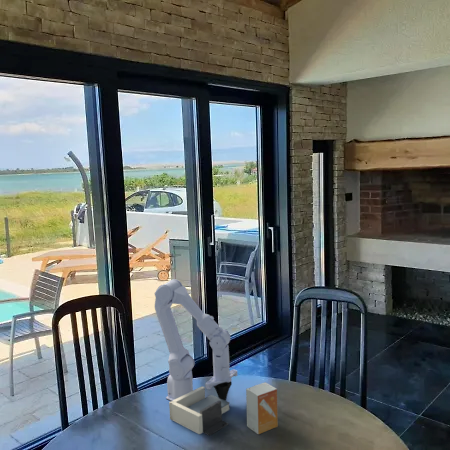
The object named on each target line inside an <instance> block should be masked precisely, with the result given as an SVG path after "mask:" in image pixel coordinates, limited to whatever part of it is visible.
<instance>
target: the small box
mask: <svg viewBox="0 0 450 450" xmlns="http://www.w3.org/2000/svg"><path fill="white" fill-rule="evenodd" d="M245 397H246V398H245V399H246V400H245V401H246V403H245V404H246V426H247V428H248V429H250V430H252V431H253V432H254V433H256V434H257V435H260V434H263V433H265V432H268V431H271V430H273V429H276V428H278V426H279V423H278V422H279V421H278V389H277V387H275V386H273V385H271V384H269V383H268V382H266V381H265V382H262V383H259V384H256V385H253V386H251V387H247V388H246V389H245Z"/></svg>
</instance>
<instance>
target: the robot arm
mask: <svg viewBox="0 0 450 450" xmlns="http://www.w3.org/2000/svg"><path fill="white" fill-rule="evenodd" d="M154 296H155V299H154V310H155V314H156V316H157V319H158V322H159V325H160V328H161V331H162V334H163V337H164V341H165V343H166V346H167V349H168V352H169V356H168V360H167V362H168V367H169V368H168V373H169V375H168V377H167V381H166V384H167V385H166V388H167V396H166V397H165V399H167V400H169V401H170V402H171V401H173V400H175V399H177V398H179V397H181V396H183V395H185V394H187V393H189V392H191V391H193V390H194V386H193V371H192V370H193V368H194V366H195V359H194V357H193V356H192V355H191V354H190V351H189V349H187V348H186V347H185V346H184V343H183V341H182V338H181V335H180V332H179V329H178V325H177V323H176V321H175V316H174V314H173V311H172V309H171V307H172V306H173V304H174V305H181V306H182V307H183V308H184V309H185V310H186V311H187V312H188V313H189V314H190V315H191V316H192V318H194V319H195V320H196V326H197V328H198V329H199V330H200V331H201V332H202V334H203V335H205V337H206V338H207V339H208V340H209V346H210V347H211V349H212V366H213V368H212V369H213V370H212V371H213V376H212V377H211V378H210V379H209V380H208V381H206V382H205V384H204V387H205V390H208V391H210V390H212V388H214V390H215V391H216V394H217V397H218V398H220V399H222V400H225V401H227V397H228V394H229V391H230V389H231V386H232V384H233V383H232V382H233V381H232V378H234V377H237V376H238V370H237V369H234V368H233V369H230V351H229V350H230V349H229V348H230V347H229V343H230V342H231V334H230V333H229V331H228V329H225V328H223V327H221V326H220V325H218V323H217V322H216V321H215V320H214V319H215V318H214V316H213V315H210V314H207V313H204V312H203V311H202V310H201V308H200V307H199V306H198V304H197V303H196V302H195V300H194V299H193V297H192V296H191V295H190V294H189V293H188V290H187V288H186V286H185V285H183V284H182V282H181V281H180V280H179V279H175V278H173V279H170V280H169V281H168V282H166V283H163V284H161V285H159V286H158V288H157V289H156V290H155V292H154Z"/></svg>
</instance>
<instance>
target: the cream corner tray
mask: <svg viewBox="0 0 450 450" xmlns="http://www.w3.org/2000/svg"><path fill="white" fill-rule="evenodd" d="M204 398H206V387H205V386H202V385H201V386H200V387H197V388H196V389H193V391H191V392H189V393H187V394H185V395H183V396H181V397H179V398H177V399H175V400H173V401H171V400H170V401H169V402H168V403H169V404H168V406H169V420H171V421H173V422H174V423H177V424H179V425H180V426H183V427H184V428H186V429H188V430H190V431H192V432H194V433H196V434H197V435H201V434H204V433H203V424H202V414H200V413H197V412H195V411H193V410H191V409H189V408H187V407H189V406H191V405H193V404H195V403H197V402H199V401H200V400H202V399H204Z"/></svg>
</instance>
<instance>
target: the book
mask: <svg viewBox="0 0 450 450" xmlns="http://www.w3.org/2000/svg"><path fill="white" fill-rule="evenodd" d="M217 401H221V411H222V415H223V414H225V413H227V412H228V411H230V410H231V409H230V401H227V400H226V401H225V400H222V399H220V398H219V397H218V396H215V395H213V394H210V395H208V396H205V398H204V399H202V400H200V401H199V402H197V403H195V404H193V405H191V406H189V407H187V408H189V409H191V410H193V411H195V412H197V413H200V410H202V409H204V408H206V407H208V406H209V405H211V404H213V403H215V402H217Z"/></svg>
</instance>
